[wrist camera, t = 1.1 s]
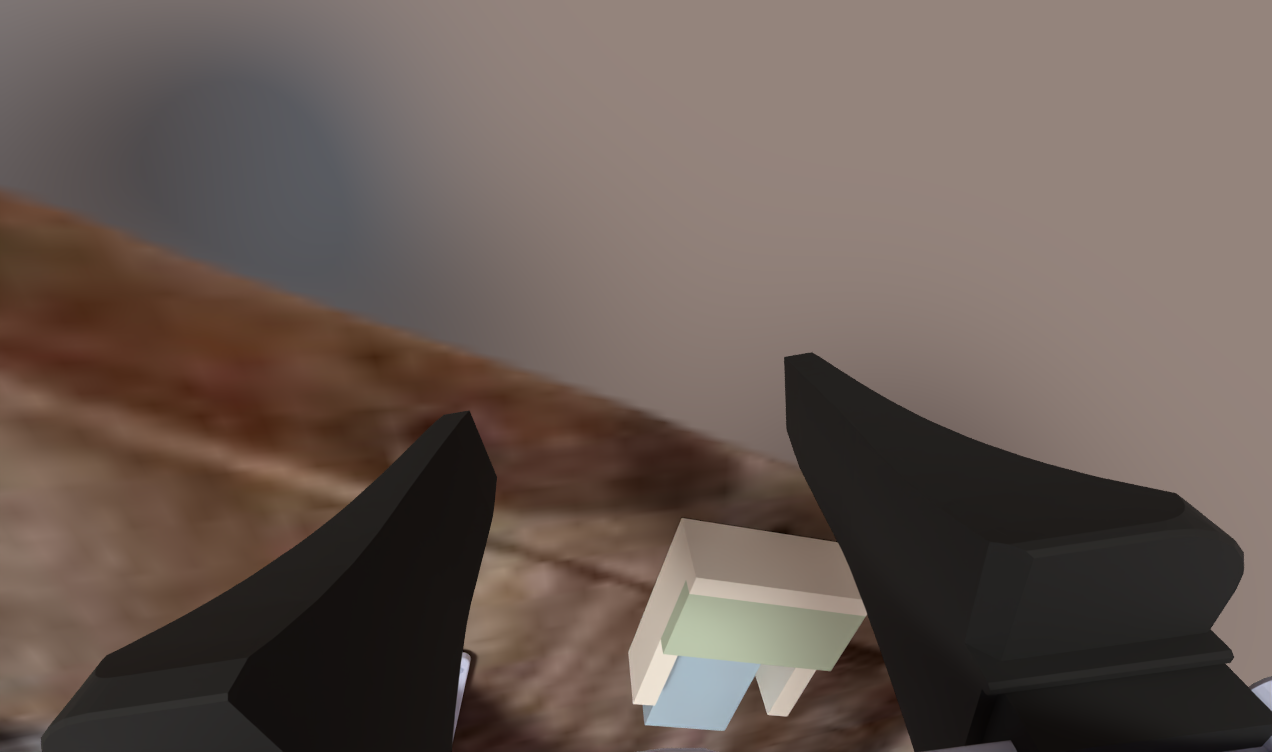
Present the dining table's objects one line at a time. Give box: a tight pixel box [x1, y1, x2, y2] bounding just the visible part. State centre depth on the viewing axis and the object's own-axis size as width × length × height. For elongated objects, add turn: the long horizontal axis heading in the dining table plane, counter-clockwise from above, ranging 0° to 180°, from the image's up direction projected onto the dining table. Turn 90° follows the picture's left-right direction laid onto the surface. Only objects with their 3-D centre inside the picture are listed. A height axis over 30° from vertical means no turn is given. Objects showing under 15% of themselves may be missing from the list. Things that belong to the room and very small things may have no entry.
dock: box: [628, 518, 867, 716], centre depth 28 cm, size 10×9×4 cm
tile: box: [643, 656, 761, 731], centre depth 32 cm, size 7×5×2 cm
